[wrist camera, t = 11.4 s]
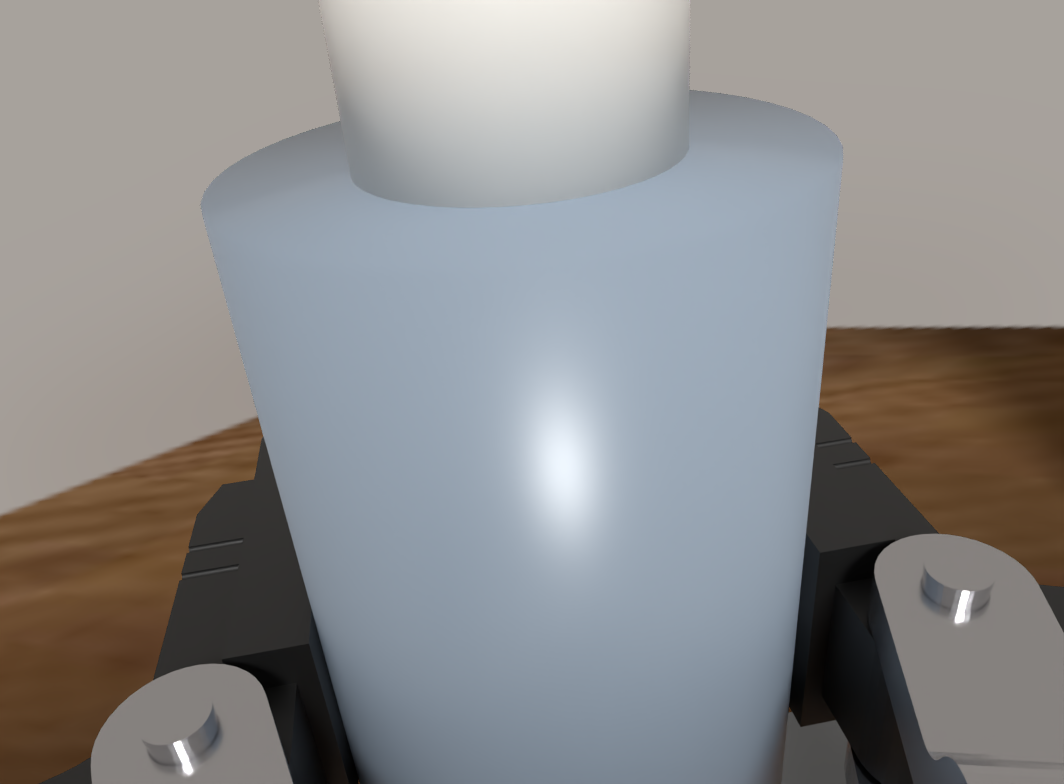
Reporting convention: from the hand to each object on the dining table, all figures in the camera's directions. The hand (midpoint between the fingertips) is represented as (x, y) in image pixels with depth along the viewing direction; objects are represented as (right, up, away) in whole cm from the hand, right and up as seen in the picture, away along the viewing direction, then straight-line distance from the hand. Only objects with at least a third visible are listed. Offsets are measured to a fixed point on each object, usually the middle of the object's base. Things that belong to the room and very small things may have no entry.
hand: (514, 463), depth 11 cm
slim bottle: (+1, -8, +1) cm, 8 cm away
